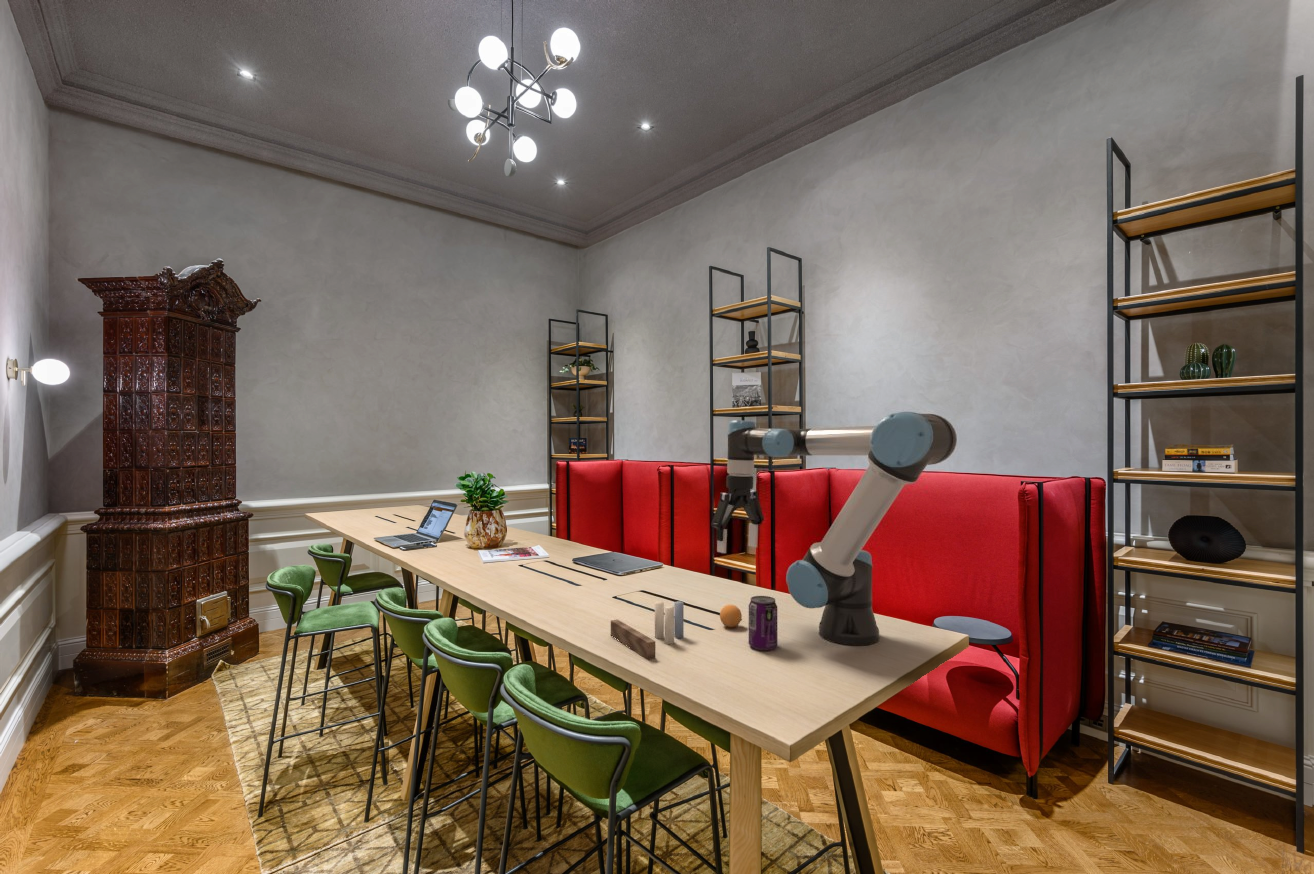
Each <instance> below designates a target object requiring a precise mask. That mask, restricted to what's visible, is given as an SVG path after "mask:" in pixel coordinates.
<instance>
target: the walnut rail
mask: <svg viewBox="0 0 1314 874" xmlns="http://www.w3.org/2000/svg"><path fill="white" fill-rule="evenodd" d="M611 635H612V636H614V637H615V638H616V639H615V638H614V639H615V640H617V639H618V640H619V641H618V640H617V641H618V642H619V643H621V642H622V643H621V644H623V643H624V644H625V646H626V645H627V646H628V648H629V647H630V648H629V649H631V650H632V649H633V650H632V651H634V652H635V651H636V652H635V653H637V654H638V653H639V655H640V656H641V655H642V657H643V658H644V657H645V660H648V661H650V660H653V659H656V640H654V639H653V638H650V637H649V636H648V635H645V634H643V633H642V632H640V631H639V630H637V629H635V628H633V627H631V626H630V625H628V624H626V623H624V622H623V621H621V620H620V619H616V618H615V619H612V620H610V636H611ZM612 636H611V637H612ZM624 644H623V645H624ZM627 646H626V647H627Z"/></svg>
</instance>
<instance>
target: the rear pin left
mask: <svg viewBox="0 0 1314 874" xmlns="http://www.w3.org/2000/svg"><path fill="white" fill-rule="evenodd" d="M674 643H675V637H674V606H671V605H666V606H664V644H666V645H673V644H674Z"/></svg>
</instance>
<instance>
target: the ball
mask: <svg viewBox="0 0 1314 874" xmlns="http://www.w3.org/2000/svg"><path fill="white" fill-rule="evenodd" d="M742 617H743V614H742V612H741V609H740V608H739V607H738V606H736V605H734V604H727V605H724V606H723V607H722V608H721V610H720V613H719V620H720V621H721V623H722V624H723V625H724V626H726V627H728V628H735V627H736V626H738V625H739V624H740V623H741V621H742Z"/></svg>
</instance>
